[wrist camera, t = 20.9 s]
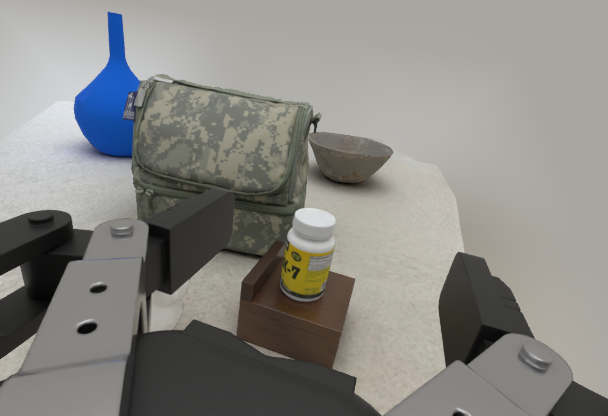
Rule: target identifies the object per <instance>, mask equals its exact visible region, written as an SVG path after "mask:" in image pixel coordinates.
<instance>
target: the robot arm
mask: <svg viewBox="0 0 608 416" xmlns="http://www.w3.org/2000/svg"><path fill="white" fill-rule="evenodd" d="M234 202H235V198H234V194H233V193H232V192H229V191H225V190H221V189H217V188H211V189H210V190H208V191H206V192H204V193H202V194H200V195H199V196H196V197H192V198H188V199H184V200H182V201H180V202H178V203H176V204H175V205H174V206H171V207H169V208H167V210H163V211H161V212H159V213H157V214H156V215H154V216H152V217H150V218H148V219H146V220H144V221H141V220H137V219H126V218H124V219H115V220H110V221H107V222H104V223H102V224H100V225H98V226H97V227H96V228H95V230H94V231H90V230H79V229H73V225H72V219H71V215H70V214H68V213H66V212H63V211H57V210H42V211H35V212H30V213H26V214H23V215H20V216H17V217H15V218H12V219H9V220H7V221H4V222H1V223H0V275H2V274H4V273H6V272H8V271H10V270H12V269H14V268H16V267H18V266H20V267H21V272H22V276H23V280H24V284H25V286H23V287H22V288H20V289H18V290H16V291H15V292H13V293H11V294H9V295H8V296H6V297H4V298H2V299H1V300H0V359H1V358H3V357H4V356H5V355H7V354H8V353H10V352H11V351H12V350H14V349H15V348H16V347H18V346H19V345H21V344H22V343H23V342H25V341H26V340H27V339H29V338H30V337H31V336H33V335H34V334H36V333H37V334H36V336H35V338H34V340H33V342H32V345H31V347H30V349H29V351H28V353H27V356H26V358H25V360H24V362H23V364H22V366H21V368H20V370H19V371H18V372H17V373H16V374H14V375H11V376H10V377H8V378H7V379H6V380H3V381H0V416H381V415H380V414H379V413H378V412H377V411H376V410H375V409H374V408H373V407H372V406H371V405H370V404H369V403H367V402H366V401H365V400H364V399H362V398H361V397H359V396H358V395H356V394H355V393H354V391H355V385H356V379H357V378H356V377H353V376H350V375H347V374H345V373H342V372H339V371H336V370H333V369H331V368H328V367H325V366H322V365H320V364H317V363H314V362H308V361H300V360H293V359H285V358H278V357H270V356H267V355H264V354H262V353H261V352H259V351H258V350H256V349H255V348H253V347H252V346H250V345H249V344H247V343H246V342H244V341H243V340H241V339H240V338H238V337H236V336H235V335H233V334H232V333H230V332H228V331H225V330H222V329H219V328H216V327H214V326H211V325H208V324H205V323H202V322H200V321H197V320H193V321H192V322H191V323H190V324H189V325H188V326H187V327H186V328H185V330H184V331H181V330H161V331H154V332H150V327H151V312H152V293H153V292H155V291H156V290H157V291H160V292H163V293H166V294H168V295H172V294H173V293H174V292H175V291H177V290H178V289H179V288H180V287H181V286H182V285H183V284H184V283H185V282H186V281H188V280H189V279H190V278H191V277H192V276H193V275H194V274H195V273H196V272H198V271H199V270H200V269H201V268H202V267H203V266H204V265H205V264H206V263H208V262H209V261H210V260H211V259H212V258H213V257H214V256H215V255H216V254H218V253H219V252H220V251H221V250H222V249H223V248H224V247H225V246H226V245H227V244H228V242H229V241H230V238H231V236H232V231H233V217H234ZM439 317H440V325H441V332H442V340H443V348H444V355H445V363H446V368H445V369H444V370H442V371H441V372H440V373H438V374H437V375H436V376H434V377H433V378H432V379H430V380H429V381H428V382H427V383H425V384H424V385H423V386H421V387H420V388H419V389H417V390H416V391H415V392H413V393H412V394H411V395H409V396H408V397H407V398H405V399H404V400H403V401H401V402H400V403H399V404H397V405H396V406H395V407H394V408H392V409H391V410H390V411H388V412H387V413H386V414H384V415H383V416H608V399H607V398H605V397H603V396H601V395H599V394H597V393H595V392H593V391H591V390H589V389H587V388H585V387H583V386H581V385H580V384H578V383H576V382H574V381H573V373H572V371H571V369H570V367H569V365H568V364H567V363H566V361H565V360H564V359H563V358H562V357H561V356H560V355H559V354H558V353H556V352H555V351H554V350H552V349H551V348H550V347H548V346H547V345H545V344H543V343H542V342H540V341H538V340H536V339H535V338H534V336H533V334H532V332H531V330H530V328H529V326H528V324H527V322H526V320H525V318H524V316H523V314H522V313H521V312H520V308H519V306H518V304H517V303H516V299H515V297H514V295H513V293H512V291H511V289H510V288H509V287H508V286H507V285H505V283H504V282H502V281H501V280H500V279H499V278H498V277H494V276H491V273H490V271H489V268H488V266H487V264H486V261H485V259H484V258H481V257H477V256H473V255H469V254H465V253H461V252H458V253H457V254H456V256H455V258H454V260H453V263H452V265H451V268H450V271H449V273H448V276H447V278H446V281H445V283H444V286H443V289H442V291H441V294H440V299H439Z"/></svg>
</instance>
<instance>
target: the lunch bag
mask: <svg viewBox="0 0 608 416" xmlns="http://www.w3.org/2000/svg"><path fill="white" fill-rule="evenodd" d="M312 108H313V107H312V106H310V105H309V103H299V102H291V101H282V100H281V99H274V98H271V97H264V96H260V95H254V94H249V93H245V92H241V91H237V90H232V89H222V88H219V87H208V86H202V85H197V84H195V83H191V82H187V81H185V80H175V79H173V78H171V77H169V76H168V75H164V74H161V75H156V76H154V77H153V76H151V77H150V78H148V79H147V80H145V81H140V85H139V87H138V89H137V91H135V92H129V93H128V96H127V100H126V105H125V110H124V115H123V120H124V119H126V120H132V121H134V123H133V145H132V147H133V149H132V173H133V176H134V177H133V181H134V182H133V184H134V187H135V188H136V201H137V211H138V219H139V220H141V221H144V220H146V219H148V218H150V217H152V216H154V215H156V214H157V213H159V212H161V211H163V210H167V208H169V207H171V206H174V205H175V204H176V203H178V202H180V201H182V200H184V199H188V198H192V197H196V196H199V195H200V194H202V193H204V192H206V191H208V190H210V189H211V188H217V189H221V190H225V191H229V192H232V193H233V194H234V198H235V202H234V217H233V231H232V236H231V238H230V241H229V242H228V244H227V245H226V246H225V247H224V249H229V250H234V251H239V252H244V253H249V254H255V255H261V256H263V255H264V254H265V253H266V252H267V251H268V249H269V248H270V247H271V246H272V245H273V243H274V242H275V241H276V240H278V241H281V242H285V246H286V240H287V235H288V232H289V230H290V229H291V228H292V227H293V224H292V223H293V219H294V215H295V212H296V211H297V210H299V209H302V208H304V204H305V197H306V184H307V173H308V168H309V158H308V134H309V130H310V125H311V123H313V124H314V134H315V133H316V128H317V122H319V120H320V118H321V113H318V114H317V115H316V116H315V117H314V118H313V109H312ZM284 253H285V249H284Z"/></svg>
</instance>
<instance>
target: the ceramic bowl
mask: <svg viewBox="0 0 608 416" xmlns="http://www.w3.org/2000/svg"><path fill="white" fill-rule="evenodd" d="M308 139H309V142H310V145H311V147H312V149H313V152H314V155H315V157H316V161H317V164H318V166H319V168H320V169H321V171H322V172H323V173H324V175H325V176H327V177H328V178H329V179H331V180H333V181H336V182H348V183H359V182H362V181H364V180H365V179H367V178H369V177H370V176H371V175H373V174H374V173H375V172H376V171H378V170H379V169H380V168H381V167H382V166H383V165H384V163H385V162H386V161H387V160H388V159H389V158H390V156H391V155H392V154H393V150H392V149H391V148H390V147H388V146H386V145H384V144H382V143H379V142H376V141H373V140H370V139H367V138H361V137H355V136H349V135H342V134H336V133H326V132H316V133H315V134H314V133H310V134H308Z"/></svg>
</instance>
